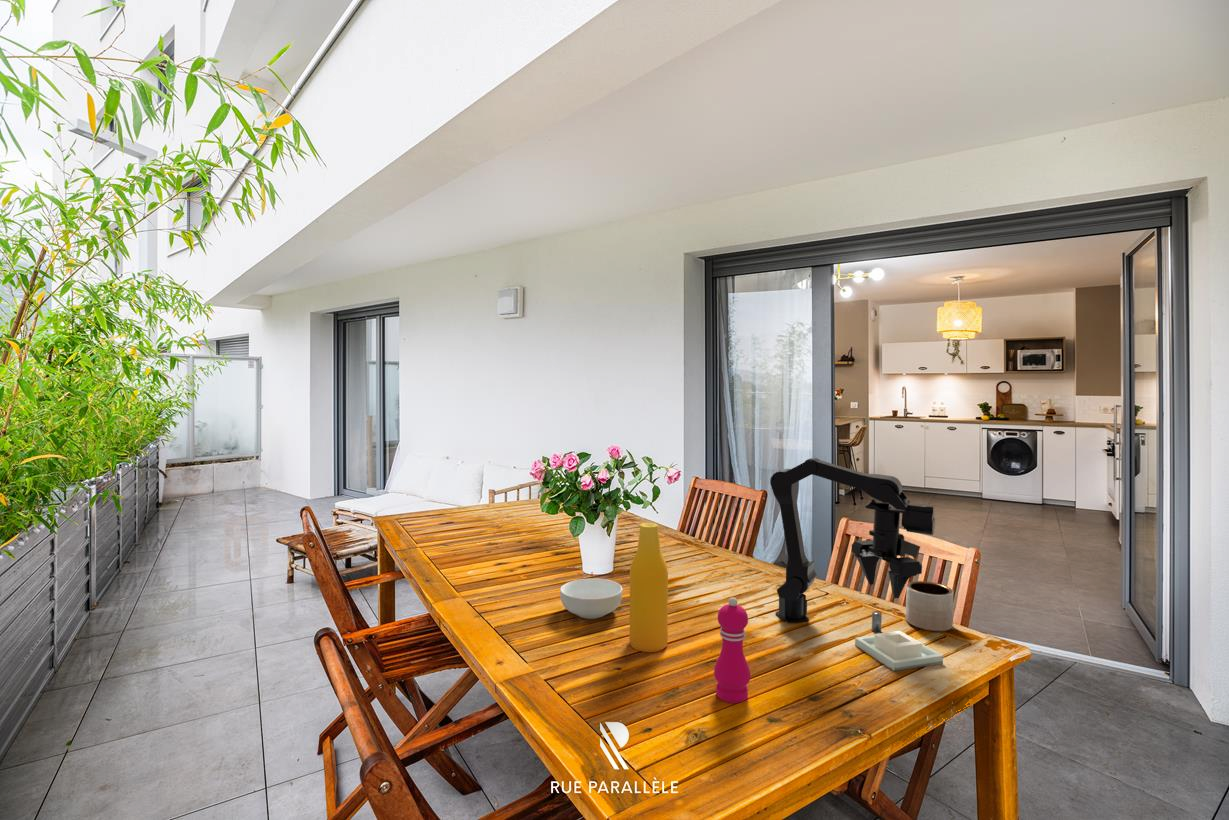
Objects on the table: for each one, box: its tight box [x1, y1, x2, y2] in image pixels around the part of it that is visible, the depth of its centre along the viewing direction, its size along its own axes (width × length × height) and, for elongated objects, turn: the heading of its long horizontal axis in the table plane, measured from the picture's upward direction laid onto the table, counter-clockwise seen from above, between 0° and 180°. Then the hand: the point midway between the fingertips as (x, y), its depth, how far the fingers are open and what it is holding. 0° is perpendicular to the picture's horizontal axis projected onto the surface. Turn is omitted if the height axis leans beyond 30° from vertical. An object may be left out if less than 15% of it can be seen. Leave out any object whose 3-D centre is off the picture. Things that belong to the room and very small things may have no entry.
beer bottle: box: [628, 522, 669, 653], centre depth 141 cm, size 9×9×29 cm
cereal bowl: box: [559, 577, 624, 620], centre depth 161 cm, size 17×17×7 cm
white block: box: [874, 630, 923, 660], centre depth 137 cm, size 7×7×3 cm
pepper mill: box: [713, 596, 751, 704], centre depth 119 cm, size 7×7×20 cm
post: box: [871, 611, 883, 634], centre depth 149 cm, size 2×2×4 cm
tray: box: [854, 634, 944, 672], centre depth 137 cm, size 13×13×2 cm
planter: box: [905, 580, 954, 633], centre depth 153 cm, size 11×11×10 cm
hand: (883, 591), depth 145 cm, fingers open, 9 cm apart
